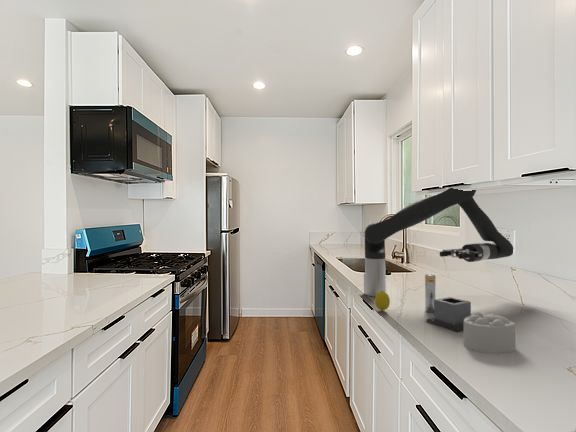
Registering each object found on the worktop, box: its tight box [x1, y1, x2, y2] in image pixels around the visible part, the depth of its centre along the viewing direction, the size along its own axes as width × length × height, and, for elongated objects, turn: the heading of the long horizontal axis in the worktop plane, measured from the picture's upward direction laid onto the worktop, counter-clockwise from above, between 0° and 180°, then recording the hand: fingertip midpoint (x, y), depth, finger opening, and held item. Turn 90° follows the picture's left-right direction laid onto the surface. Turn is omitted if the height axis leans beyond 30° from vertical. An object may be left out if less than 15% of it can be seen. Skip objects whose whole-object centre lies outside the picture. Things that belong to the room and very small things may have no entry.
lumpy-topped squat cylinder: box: [463, 311, 517, 354], centre depth 96 cm, size 10×13×9 cm
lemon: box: [374, 291, 391, 312], centre depth 131 cm, size 6×6×8 cm
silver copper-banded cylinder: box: [424, 273, 437, 314], centre depth 130 cm, size 4×4×14 cm
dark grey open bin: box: [426, 296, 472, 333], centre depth 115 cm, size 12×11×8 cm
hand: (449, 255), depth 135 cm, fingers open, 8 cm apart
